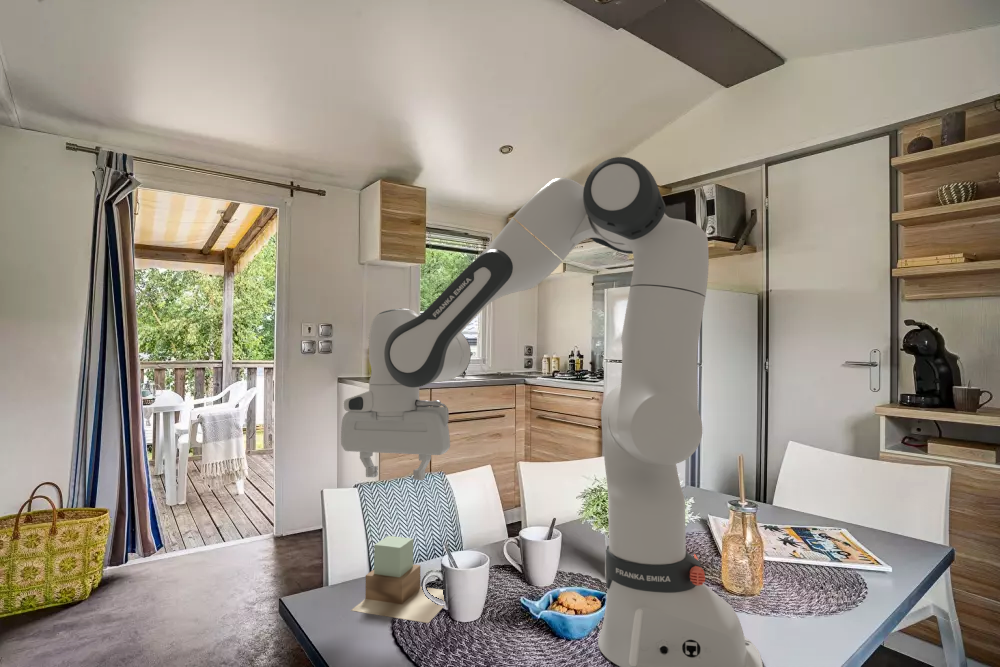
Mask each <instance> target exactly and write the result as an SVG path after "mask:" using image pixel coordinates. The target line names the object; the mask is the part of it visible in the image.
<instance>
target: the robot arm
mask: <svg viewBox="0 0 1000 667" xmlns="http://www.w3.org/2000/svg"><path fill="white" fill-rule="evenodd" d="M658 186H659V185H658V182H656V179H655V177H654V175H653V174H652V173H651V172H650V170H649V169H648V168H647V167H646V166H645V165H643V164H642V163H641V162H639V161H638V160H636V159H633V158H631V157H625V156H615V157H611V158H608V159H606V160H603V161H602V162H600V163H599V164H598V165H596V166H595V167H594V168H593V169H592V171H590V173H589V175H588V176H587V178H586V181H585V182H584V186H583V185H582V184H581V183H579V182H578V181H575V180H573V179H571V178H567V177H557V178H553V179H552V180H550V181H549V182H548V183H546V184H545V185H544V186H542V188H541V189H539V190H538V191H537V192H536V193H535V194H534V195H533V196H532V197H530V199H528V201H526V203H524V204H523V205H522V206H521V208H520V209H519V210H518V211H516V213H515V214H514V215H513V217H511V219H510V220H509V221H508V223H506V225H505V226H504V227H503V228H502V230H501V231H500V232H499V233H498V234H497V235H496V237H495V238H494V239H493V240H492V241H491V242H490V244H489V245H488V246H487V247H486V248H485V249H484V250H483V251H481V253H480V254H479V255H478V256H477V257H476V258H475V259H474V260H473V261H472V262H471V263H470V264H469V265H468V266H467V267H466V268H465V269H464V270H463V271H462V272H461V273H460V274H459V275H458V276H457V277H456V278H455V279H454V280H453V281H452V282H451V283H450V284H449V285H448V287H446V288H445V289H444V291H442V292H441V294H440V295H439V296H437V298H436V299H435V300H434V301H433V302H432V303H431V304H430V305H429V306H428V307H427V308H426V309H425V310H424V311H423V312H422V313H420V314H418V313H417V312H416V311H415V310H413V309H411V308H404V307H403V308H393V309H392V308H391V309H389V310H384V311H382V312H379V313H378V314H376V315H375V316H374V317H373V319H372V321H371V325H370V330H369V340H368V341H369V342H368V360H369V365H370V368H371V369H370V371H371V373H370V378H369V381H368V387H369V388H368V389H369V390H368V391H366V392H363V393H360V394H356V395H354V396H351V397H348V398H346V399H345V400H344V401H343V409H344V410H345V411H346V413H344V414H343V416H342V421H341V430H340V445H341V447H342V449H343V450H344V451H345V452H354V453H355V452H356V453H357V452H358V453H359V459H360V461H361V463H362V464H363V466H364V468H365V477H366V478H376V477H378V475H379V472H378V471H379V466H378V465H375V464H374V463H373V461H372V459H371V457H373V455H374V454H373V453H379V454H380V453H381V454H404V455H405V454H406V455H418V461H420V464H419V466H418V468H417V467H416V469H413V471H412V473H413V481H423V480H426V469H427V467H428V465H429V463H430V462H431V459H432V456H441V455H444V454H445V453H448V451H449V449H450V447H451V439H450V438H451V437H450V429H449V424H448V423H449V420H450V416H449V415H450V412H449V408H448V407H447V405H446V404H445V403H442V402H441V400H426V399H425V400H424V399H423V400H420V388H421V387H423V386H426V385H429V384H434V383H440V382H445V381H446V382H447V381H451V380H453V379H456V378H458V377H460V376H461V375H462V374H464V372H465V371H466V370H467V369H468V368H469V365H470V362H471V357H472V350H471V346H470V343H469V341H468V339H467V337H466V336H465V335H464V334H462V332H463V331H464V330H465V328H466V327H467V326H468V325H470V324H471V322H472V321H474V319H475V318H476V317H477V316H478V315H479V314H480V313H481V312H482V311H483V310H484V309H485V308H486V307H488V305H490V304H491V303H492V302H494V301H496V300H497V299H500V298H502V297H505V296H508V295H511V294H514V293H518V292H523V291H527V290H532V289H533V288H535V287H537V286H538V285H539V284H541V283H542V282H543V281H544V280H546V279H547V278H548V277H549V276H550V275H552V274H553V272H554V271H555V270H557V268H558V267H559V266H560V265H561V263H563V261H564V260H565V259H566V258H567V257H568V256H569V254H570V253H571V252H572V251H573V250H574V249H575V248H576V246H578V245H579V244H580V243H581V242H583V241H584V240H587V239H592V241H593V242H594V243H595V244H596V243H597V244H599V245H602V246H604V247H607V248H609V249H612V250H613V251H616V252H619V253H623V254H627V255H629V254H630V255H632V256H633V268H632V275H631V279H630V280H631V281H630V284H629V285H630V287H629V291H628V297H627V298H628V299H627V304H626V309H625V314H624V315H625V316H624V319H623V326H622V331H621V348H622V349H621V350H622V351H621V352H622V354H621V357H622V358H621V374H620V375H621V378H620V384H618V385H617V386H615V387H614V388H612V389H611V390H610V391H609V393H607V395H606V396H605V398H604V400H603V401H602V405H601V410H600V418H601V431H602V432H601V434H602V445H603V446H602V448H603V458H604V466H605V477H606V486H607V498H608V499H607V500H608V501H607V502H608V507H607V508H608V513H607V514H608V545H607V546H606V550H605V555H604V577H605V578H604V580H605V586H606V588H607V590H606V600H605V601H606V602H605V610H604V616H603V622H602V627H601V630H600V632H599V633H600V634H599V637H598V640H597V645H598V648H599V650H600V652H601V653H602V654H603V656H604V657H605V658H606V659H607V660H609V661H610V662H612V663H613V664H615V665H616V666H618V667H764V666H763V665H764V664H763V661H762V660H763V659H762V657H761V654H760V651H759V650H758V649H757V646H756V645H755V644H754V643H753V642H752V641H751V640H750V639H749V638H748V637H746V636H745V634H744V630H743V626H742V624H741V621H740V619H739V617H738V615H737V613H736V611H735V609H734V607H732V606H731V604H729V603H728V602H727V601H726V600H725V599H723V598H722V597H720V596H719V595H718V594H717V593H716V592H714V591H713V589H711V588H710V587H708V586H707V585H706V584H705V582H706V574H705V571H704V569H703V568H702V567H701V561H700V560H699V558H698V556H697V555H696V554H695V553H694V554H693V555H692V554H690V553H689V552H687V551H686V550H687V548H686V546H687V545H686V544H687V543H686V537H687V536H686V501H685V496H684V493H683V490H682V486H681V482H680V477H679V473H678V468H677V467H678V466H677V464H680V463H682V462H685V461H686V460H687V459H689V458H690V457H691V456H692V455H693V454H694V453H695V452H696V451H697V450H698V447H699V446H700V443H701V441H702V436H703V422H702V419H701V418H702V417H701V415H700V412H699V407H698V406H699V405H698V402H699V401H698V399H699V398H698V397H699V396H698V392H699V390H698V388H699V387H698V386H699V385H698V348H699V340H700V334H701V326H702V320H703V314H704V309H705V308H704V307H705V301H706V295H707V288H708V278H709V265H710V263H709V258H710V257H709V256H710V255H709V241H708V240H709V239H708V236H707V234H706V232H705V231H704V229H703V228H701V227H700V226H698V225H697V224H696V223H693V222H692V221H689V220H685V219H681V218H680V219H679V218H672V217H669V216H668V215H667V214H666V210H667V206H666V203H665V201H664V199H663V197H662V194H661V192H660V189H659V187H658Z"/></svg>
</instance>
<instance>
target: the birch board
mask: <svg viewBox="0 0 1000 667" xmlns="http://www.w3.org/2000/svg"><path fill="white" fill-rule="evenodd" d="M422 587H423V586H420V589H418V590H417V591H416V592H415V593H414V594H413V595H412V596H411V597H410V598H409V599H407V600H406V601H405V602H404V603H403V604H396V603H389V602H383V601H376V600H370V599H365V598H364V599H363V600H362V601H361V602H359V603H358V604H356V605H355V606H354V607H353V608H352V609H350V612H358V613H364V614H368V615H377V616H381V617H386V618H387V617H388V618H392V619H393V618H394V619H399V620H407V621H412V622H419V623H425V624H429V623H430V622H431V621H432V620H433V619H434V618H435V617H436V616H437V614H439V613H440V612H441V610H442V609H444V607H445V606H440V605H437V604H435V603H434V602H432V601H431V600H430V599H428V598H427V597H426V596H425V594H424V592H423V590H422ZM427 590H428V592H429V593H430V594H431V595H433V596H434V597H437V598H439V599H442V600H443V601H444V595H443V590H444V589H440V588H433V587H427ZM444 602H445V601H444Z"/></svg>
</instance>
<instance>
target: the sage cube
mask: <svg viewBox="0 0 1000 667" xmlns="http://www.w3.org/2000/svg"><path fill="white" fill-rule="evenodd" d="M373 553H374V554H373V557H374V558H373V570H374V574H378V575H386V576H393V577H401V576H402V575H404V574H405V573H406V572H407V571H409V570H410V569H411V568H412V567H413V564H414V538H412V537H403V536H392V535H388V536H386V537H384V538H383V539H381V540H379V541H378V542H376V543H375V544H374V548H373Z"/></svg>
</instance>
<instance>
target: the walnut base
mask: <svg viewBox="0 0 1000 667" xmlns="http://www.w3.org/2000/svg"><path fill="white" fill-rule="evenodd" d="M420 587H421V565H420V564H414V563H413V567H412V568H411V569H410V570H409V571H407V572H406V573H405V574H404V575H402V576H401V577H393V576H386V575H378V574H374V569H372V570H371V571H370V572H368V573H367V574H365V593H364V594H365V597H364V600H365V599H370V600H376V601H383V602H389V603H396V604H403V603H404V602H405V601H406V600H407V599H409V598H410V597H411V596H412V595H413V594H414V593H415V592H416V591H417V590H418V589H420Z"/></svg>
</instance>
